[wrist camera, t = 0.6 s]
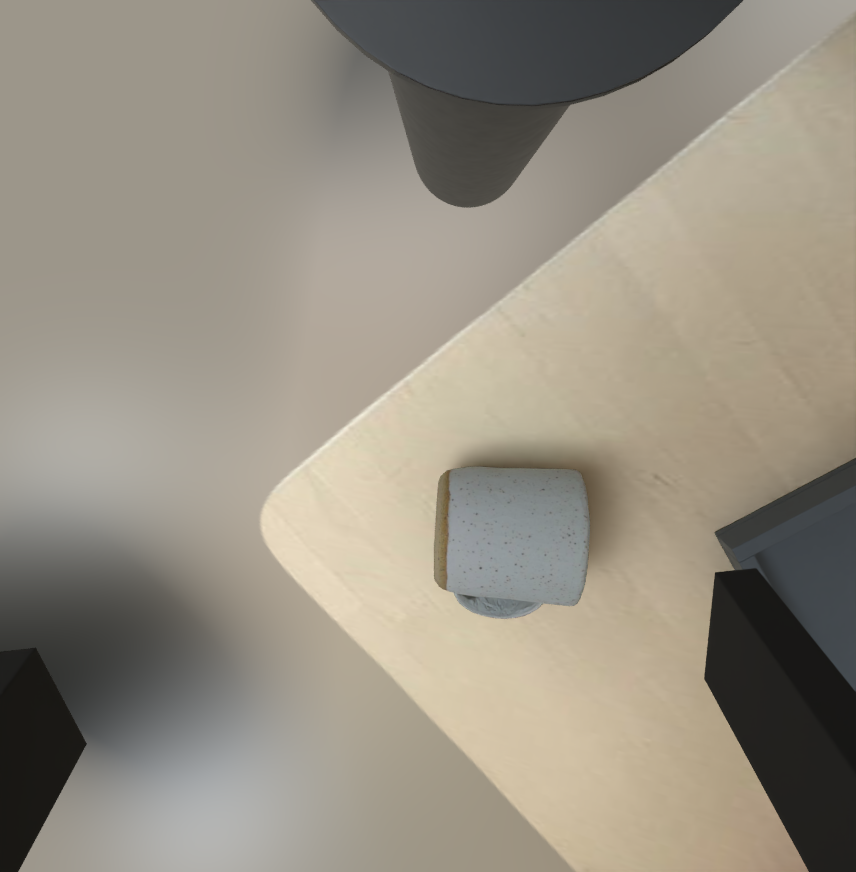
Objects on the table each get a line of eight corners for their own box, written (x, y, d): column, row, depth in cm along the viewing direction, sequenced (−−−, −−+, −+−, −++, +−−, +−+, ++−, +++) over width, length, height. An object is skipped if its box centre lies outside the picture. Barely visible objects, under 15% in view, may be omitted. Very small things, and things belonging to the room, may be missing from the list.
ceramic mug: (436, 450, 38) (434, 495, 30) (571, 452, 38) (601, 498, 30) (434, 604, 41) (432, 679, 33) (560, 607, 40) (584, 684, 33)
